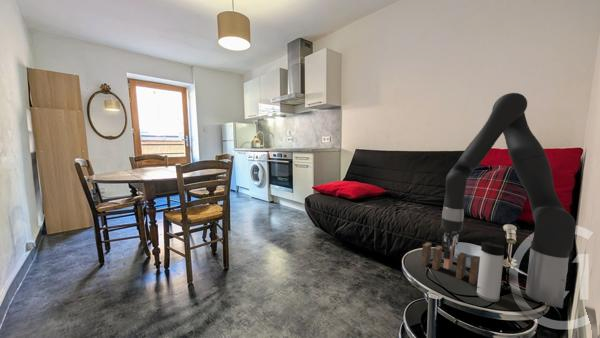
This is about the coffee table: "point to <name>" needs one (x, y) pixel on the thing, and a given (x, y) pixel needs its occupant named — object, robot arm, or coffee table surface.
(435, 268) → the walnut tile
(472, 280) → the walnut tile
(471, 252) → the chinaware
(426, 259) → the walnut tile
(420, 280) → the coffee table surface
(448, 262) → the terracotta tile
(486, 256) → the travel mug
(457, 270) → the walnut tile
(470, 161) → the robot arm
